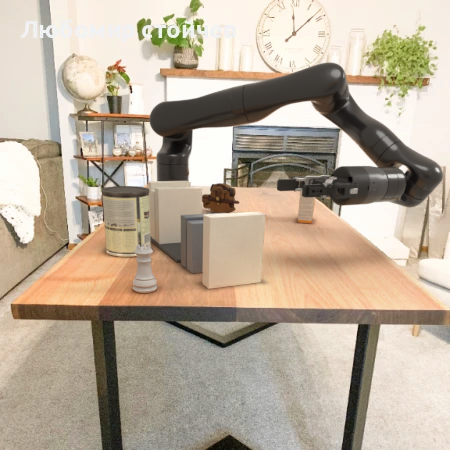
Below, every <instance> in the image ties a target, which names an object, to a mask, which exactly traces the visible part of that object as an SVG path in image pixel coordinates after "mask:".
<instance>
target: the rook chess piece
mask: <svg viewBox="0 0 450 450" xmlns="http://www.w3.org/2000/svg"><path fill="white" fill-rule="evenodd" d="M134 252H135V254H136V255H137V256H136V259H135V261H136V273H135V275H134V278H133V280H132V284H133V286H132V287H131V288H132V290H133V291H134V292H135V293H138V294H150V293H154V292H156V290H158V285H157V283H158V280H157V278H156V277H155V275H154V272H153V268H152V261H153V258H152V255H153V253H154V250H153V248H152V245H148V244H147V245H146V247H144V244H141V247H140V245H137V246H136V249H135V251H134Z"/></svg>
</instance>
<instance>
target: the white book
mask: <svg viewBox="0 0 450 450" xmlns="http://www.w3.org/2000/svg"><path fill="white" fill-rule="evenodd" d="M203 214H204V215H203V272H202V280H201V284H202V285H203V286H204V287H206V288H207V290H213V289H219V288H227V287H236V286H243V285H250V284H258V283H262V276H263V275H262V274H263V259H264V258H263V257H264V243H265V230H266V229H265V228H266V216H267V215H266V214H265V213H263V212H260V211H245V212H244V211H243V212H230V213H223V214H211V213H203Z"/></svg>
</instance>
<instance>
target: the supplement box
mask: <svg viewBox="0 0 450 450" xmlns="http://www.w3.org/2000/svg"><path fill="white" fill-rule="evenodd" d="M298 200H299V202H298V211H297V212H298V213H297V223H300V224H301V223H302V224H312V223H313V219H314V212H315V203H316V197H307V198H306V197H303V196H302V191H299V199H298Z"/></svg>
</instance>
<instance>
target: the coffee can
mask: <svg viewBox="0 0 450 450" xmlns="http://www.w3.org/2000/svg"><path fill="white" fill-rule="evenodd" d="M101 195H102V196H101V197H102V209H103V223H104V235H105V236H104V237H105V249H106V250H105V253H106V254H108V255H110V256H114V257H118V258H119V257H120V258H133V257H134V258H135V257H137V255H136V254H135V252H134V251H135V249H136V246H137V245H140V247H141V244H144V247H146V245H147V244H148V245H151V243H152V242H151V241H150V213H149V189H148V187H144V186H138V185H137V186H135V185H115V186H106V187H103V188H101ZM151 246H152V245H151Z"/></svg>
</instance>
